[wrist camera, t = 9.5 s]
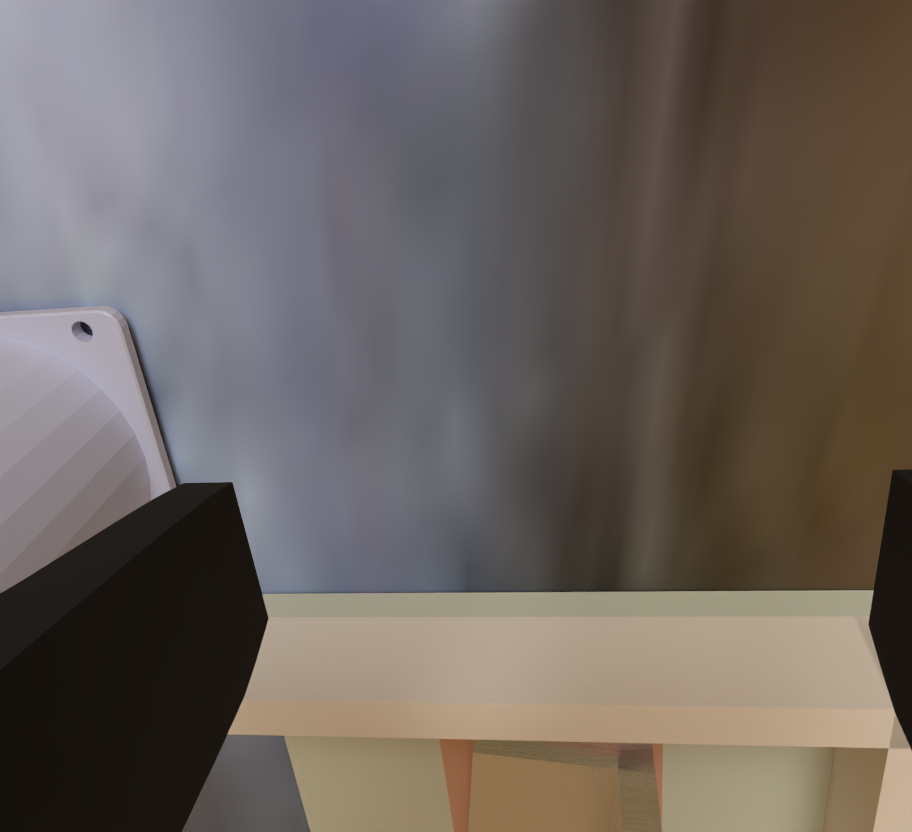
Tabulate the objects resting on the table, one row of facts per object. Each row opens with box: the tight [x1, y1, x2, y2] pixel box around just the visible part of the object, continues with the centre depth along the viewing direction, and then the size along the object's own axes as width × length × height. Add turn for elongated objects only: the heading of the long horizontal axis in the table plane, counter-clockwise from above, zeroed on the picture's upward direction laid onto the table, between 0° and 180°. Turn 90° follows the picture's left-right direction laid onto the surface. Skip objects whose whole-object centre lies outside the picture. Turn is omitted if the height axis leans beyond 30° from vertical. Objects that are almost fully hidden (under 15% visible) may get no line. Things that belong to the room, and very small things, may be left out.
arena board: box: [263, 590, 874, 832], centre depth 25 cm, size 17×14×1 cm
